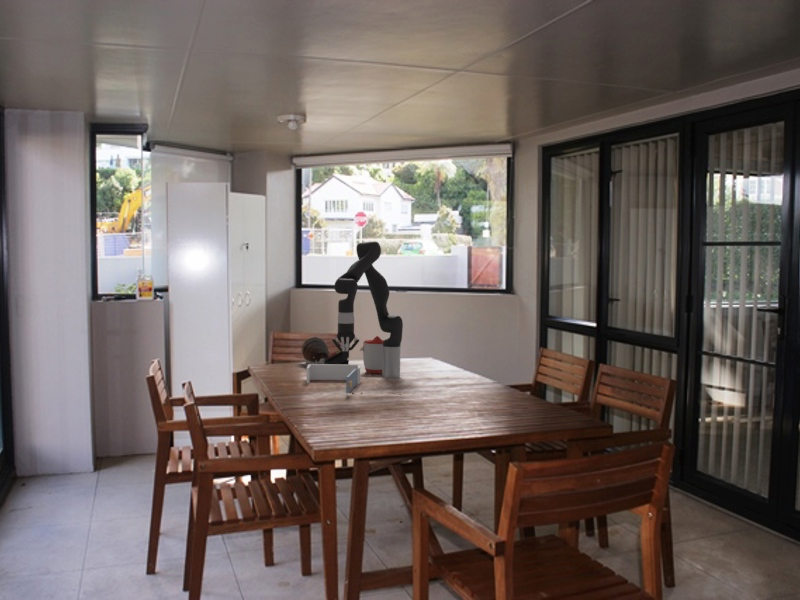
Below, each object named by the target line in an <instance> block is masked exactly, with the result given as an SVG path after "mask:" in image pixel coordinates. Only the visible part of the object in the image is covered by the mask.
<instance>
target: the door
mask: <svg viewBox="0 0 800 600" xmlns="http://www.w3.org/2000/svg"><path fill="white" fill-rule="evenodd" d="M345 382H346V383H345V386H346V388H345V393H346V394H349V393H350V392H351V391H352V390H353V389H354V388H355V387H356V386H357V385H358V384H357V369H354V370H353V371H352V372H351V373H350V374H349V375H348V376H347V377H346V380H345Z"/></svg>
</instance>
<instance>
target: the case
mask: <svg viewBox="0 0 800 600" xmlns="http://www.w3.org/2000/svg"><path fill="white" fill-rule="evenodd" d="M354 369H357V384H356V385H360V384H361V364H349V365H342V364H307V366H306V384H310V382H311V380H313V381H314V380H315V381H316V380H318V381H320V380H322V381H324V380H325V381H346V377H347V376H348V375H349V374H350V373H351V372H352V371H353V370H354Z"/></svg>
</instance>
